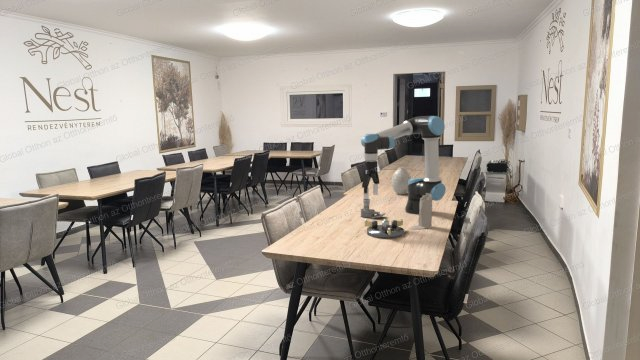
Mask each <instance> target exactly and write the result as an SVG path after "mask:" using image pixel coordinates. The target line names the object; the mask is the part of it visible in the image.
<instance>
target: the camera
mask: <svg viewBox="0 0 640 360" xmlns="http://www.w3.org/2000/svg"><path fill="white" fill-rule="evenodd" d="M370 201H371V199H370V198H369V199H364V198H363V200H362V203H363V208H361V209H360V218H368V219H378V218H382V217H383V216H385V215H386V213H385V212H384V213H383V212H382V213H380V211H376V210H375V209H373V208H370V203H371V202H370Z"/></svg>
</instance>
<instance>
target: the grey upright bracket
mask: <svg viewBox="0 0 640 360" xmlns="http://www.w3.org/2000/svg"><path fill="white" fill-rule="evenodd" d="M432 212H433V200H432V195H431V194H429V193H426V195H423V197H422V198H420V211H419V214H418V224H417V225H413V226H411V227H409V229H411V230H425V228H426V229H431V228H432V227H433V226H432V221H433V219H432V218H433V216H432V215H433V213H432ZM430 227H431V228H430Z"/></svg>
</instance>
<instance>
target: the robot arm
mask: <svg viewBox="0 0 640 360" xmlns="http://www.w3.org/2000/svg"><path fill="white" fill-rule="evenodd" d="M445 128H446V127H445V121H444V120H443V119H442V118H441V117H440V116H437V115H424V116H423V115H420V116H415V117H412V118H409V119H407V120H405V121H403V122H402V123H399V124H398V125H395V126H392V127H390V128H387V129H384V130H381V131H379V132H377V133H365V135H364V136H362V137H361V139H360V143H361V145H362V146H363V147H364V154H363V156H364V168H366V169H364V170H363V171H364V172H363V177H362V178H363V179H362V183H361V188H363V199H370V197H369V196H370V195H369V192H370V191H369V190H370V189H369V185H370V181H371V179H372V182H373V184H372V195H374V196H376V195H377V196H378V194H379V191H378V190H379V189H378V188H379V187H378V184H379V185H380V176H379V172H378V171H379V170H378V166H379V165H378V164H379V163H378V159H379V153H378V151H379V150H381V151H382V150H391V149H393V148H394V146H395V140H396V139H399V138H401V137H404V136H411V135H421V139H422V140H424V141H423V142H424V174H425V175H424V176H425V177H413V178H411V179H409V181H408V192H407V202H406V205H405V208H404V209H405V210H404V211H405V212H406V213H408V214H415V215H419V211H420V198H422V197H423V195H426V193H429V194H431V195H432V201H440V200H442V199H443V198H444V196H445V194H446V186H445V184H443V182H442V178H441V177H440V164H439V163H440V162H439V158H440V157H439V140H440V139H441V137H442V136H441V135H442V134H443V133H444V132H445Z"/></svg>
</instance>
